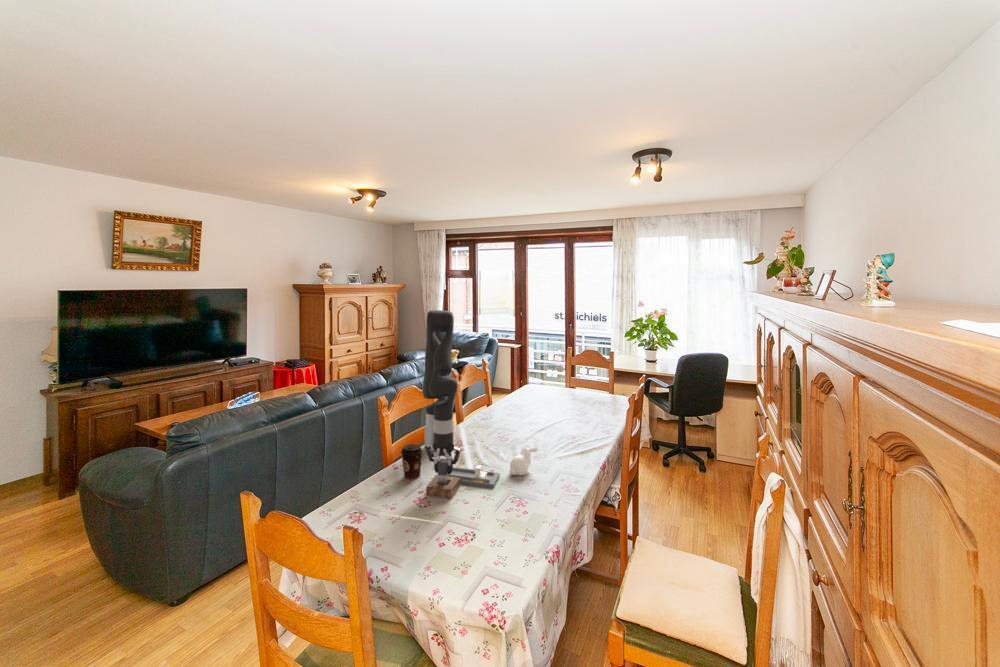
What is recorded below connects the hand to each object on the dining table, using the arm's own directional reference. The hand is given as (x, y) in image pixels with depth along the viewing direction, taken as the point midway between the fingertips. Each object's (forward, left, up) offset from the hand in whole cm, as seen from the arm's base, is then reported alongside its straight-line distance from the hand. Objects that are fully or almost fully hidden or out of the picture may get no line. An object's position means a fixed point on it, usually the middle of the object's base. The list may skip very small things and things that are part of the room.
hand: (443, 472), depth 164 cm
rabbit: (+26, +25, -8) cm, 37 cm away
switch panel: (+7, +12, -8) cm, 16 cm away
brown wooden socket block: (0, 0, -8) cm, 8 cm away
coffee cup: (-17, +8, -8) cm, 20 cm away
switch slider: (+11, +12, -6) cm, 17 cm away
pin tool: (0, 0, -7) cm, 7 cm away
